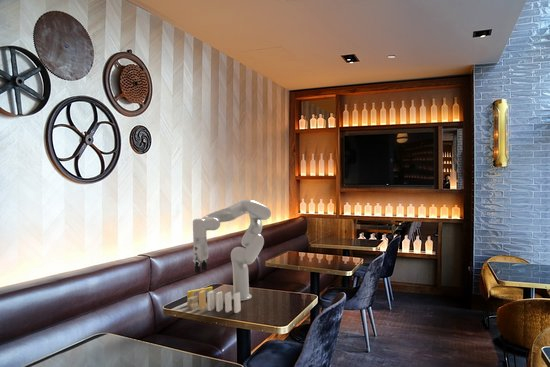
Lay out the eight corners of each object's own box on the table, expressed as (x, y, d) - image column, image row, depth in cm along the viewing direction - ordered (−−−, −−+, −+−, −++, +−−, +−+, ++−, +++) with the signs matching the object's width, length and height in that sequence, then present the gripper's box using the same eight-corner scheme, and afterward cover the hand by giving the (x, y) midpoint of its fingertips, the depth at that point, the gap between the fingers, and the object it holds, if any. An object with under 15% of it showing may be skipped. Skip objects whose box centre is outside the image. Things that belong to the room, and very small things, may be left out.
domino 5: (234, 312, 217) (233, 294, 217) (238, 309, 222) (237, 292, 222) (237, 313, 217) (236, 294, 217) (240, 310, 221) (240, 292, 221)
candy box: (188, 305, 233) (188, 292, 233) (187, 305, 235) (186, 291, 235) (213, 300, 243) (212, 286, 243) (211, 299, 244) (211, 286, 244)
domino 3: (216, 311, 221) (215, 293, 221) (220, 308, 226) (219, 291, 225) (219, 311, 220) (218, 293, 220) (223, 308, 225) (222, 291, 225)
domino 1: (199, 310, 224) (198, 292, 224) (203, 307, 229) (203, 290, 229) (201, 310, 224) (201, 292, 224) (206, 307, 229) (205, 290, 229)
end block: (187, 309, 226) (187, 299, 226) (193, 306, 232) (192, 296, 232) (192, 309, 225) (192, 299, 225) (197, 306, 231) (197, 296, 231)
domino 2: (207, 310, 223) (207, 293, 222) (211, 307, 227) (211, 290, 227) (210, 310, 222) (209, 293, 222) (214, 308, 227) (213, 290, 227)
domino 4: (225, 312, 219) (224, 294, 219) (229, 309, 224) (228, 291, 224) (228, 312, 218) (227, 294, 218) (231, 309, 223) (231, 291, 223)
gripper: (198, 242, 217) (199, 275, 217) (213, 238, 233) (214, 268, 233) (186, 242, 219) (187, 274, 219) (201, 238, 236) (202, 267, 236)
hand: (201, 271), depth 226 cm, fingers open, 6 cm apart
